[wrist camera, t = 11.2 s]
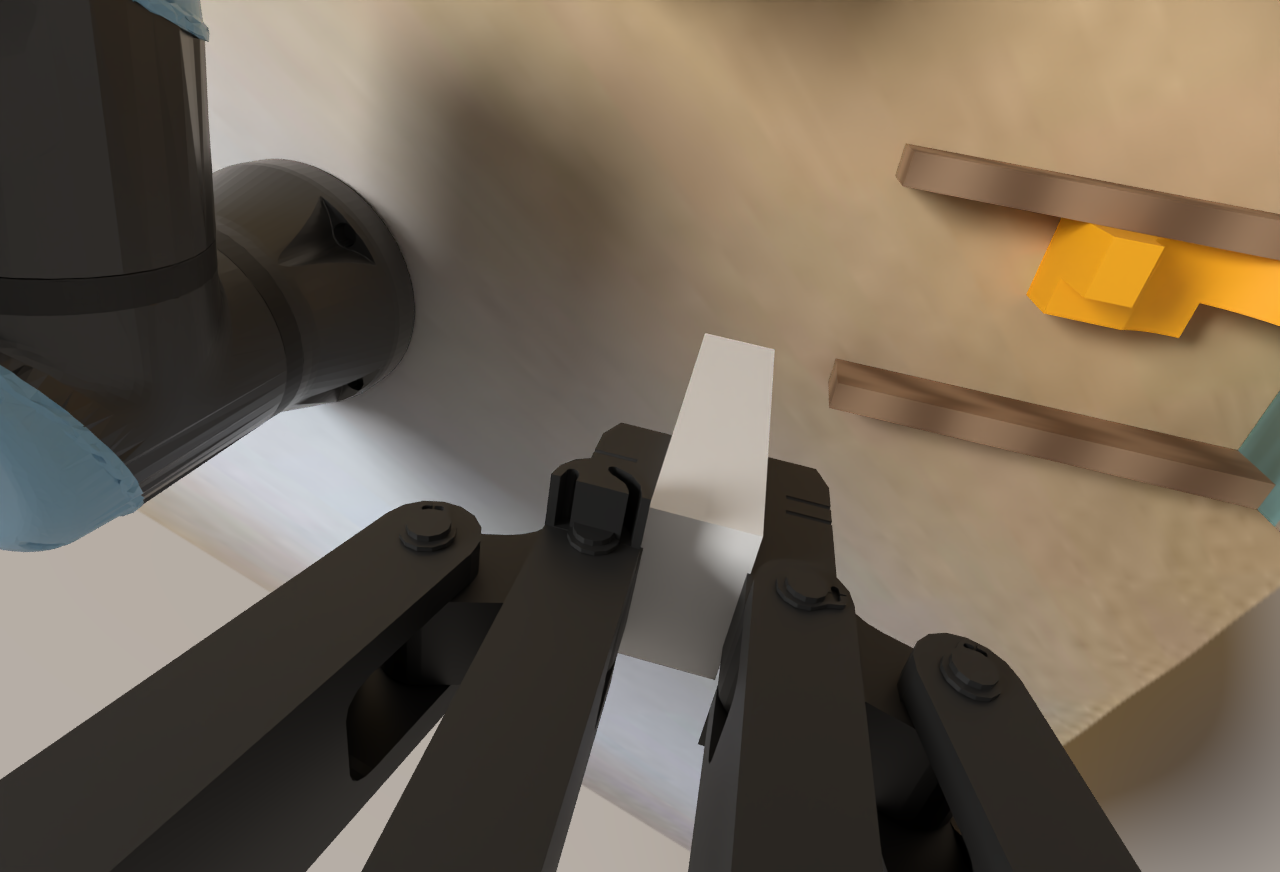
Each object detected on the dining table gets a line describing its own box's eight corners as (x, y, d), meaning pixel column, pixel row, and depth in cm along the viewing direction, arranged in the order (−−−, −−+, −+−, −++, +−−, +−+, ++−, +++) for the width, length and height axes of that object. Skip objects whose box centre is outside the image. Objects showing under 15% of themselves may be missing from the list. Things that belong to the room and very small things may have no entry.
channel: (828, 382, 40) (830, 425, 35) (905, 143, 33) (920, 156, 29) (1261, 482, 37) (1327, 545, 32) (1437, 244, 31) (1553, 277, 26)
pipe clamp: (1025, 294, 35) (1064, 336, 30) (1064, 208, 33) (1114, 236, 28) (1273, 346, 34) (1363, 400, 28) (1331, 261, 32) (1440, 301, 26)
